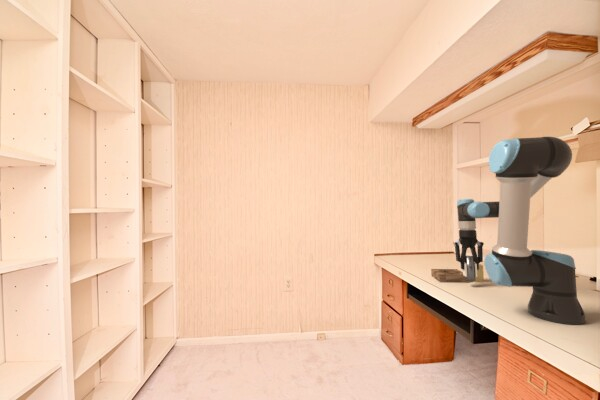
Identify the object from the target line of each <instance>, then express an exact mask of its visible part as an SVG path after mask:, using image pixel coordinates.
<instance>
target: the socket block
mask: <svg viewBox="0 0 600 400" xmlns="http://www.w3.org/2000/svg"><path fill="white" fill-rule="evenodd" d="M430 272H431V277H433V279H435V280H436V281H438V282H439V283H469V281H467V280H466V277H465V276H463V271H461V270H459V269H457V268H456V269H455V268H431V271H430Z"/></svg>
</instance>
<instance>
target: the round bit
mask: <svg viewBox="0 0 600 400" xmlns="http://www.w3.org/2000/svg"><path fill="white" fill-rule="evenodd" d="M465 263H466V264H467V277H466V280H467V281H468V282H474V281H475V268H474V263H475V262H474V256H472V255H466V257H465Z"/></svg>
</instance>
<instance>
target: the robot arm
mask: <svg viewBox="0 0 600 400" xmlns="http://www.w3.org/2000/svg"><path fill="white" fill-rule="evenodd" d="M572 159H573V153H572V149H571V146H570V145H569V144H568V143H567V142H566V141H565V140H563V139H561V138H559V137H555V136H541V137H540V136H538V137H523V138H522V137H520V138H519V137H518V138H509V139H504V140H501V141H498V142H497V143H496V144H495V145H494V146H493V148H492V149H491V151H490V153H489V157H488V166H489V171H491V172H492V173H493V174H495V178H496V179H497V180H498V181H499V184H500V185H499V201H475V200H474V199H473V198H468V199H467V198H465V199H458V200H457V205H456V209H457V218H458V219H457V220H458V221H457V222H458V223H457V224H458V229H459V230H458V234H459V235H458V236H459V239H458V240H457V241H453V246H454V252H455V261H457V262H458V263H460V269H461V270H462V272H463V276H465V277H467V264H466V263H465V257H466V256H467V251H468V249H469V250H470V252H471V256H474V268H475V277H477V270H479V264H481V263H483V261H484V269H485V270H486V274H487V276H488V277H489V280H490V281H492V283H494V284H495V285H496V286H501V287H508V288H511V287H528V288H529V287H532V294H531V295H530V299H529V301H528V304H527V311H528V313H529V314H530V315H532V316H534V317H536V318H539V319H542V320H546V321H549V322H553V323H558V324H565V325H584V324H585V323H587V320H586V319H587V318H586V317H587V316H586V313H585V311H584V309H583V307H582V306H581V303H580V301H579V299H578V295H577V294H578V292H577V291H578V290H577V275H576V269H577V268H576V264H575V259H574V257H573V256H572V255H569V254H565V253H561V252H555V251H554V252H553V251H548V250H546V251H545V250H539V249H529V248H528V236H529V225H530V224H529V220H530V208H531V207H530V204H531V199H532V197H533V196H534V195H536V194H537V193H538V192H539V191H540V190H541V189H542V188H543V187H544V186H545V185H546V184H547V183H549V181H550V180H552V179H554V178H557V177H558V178H559V176H561V175H562V174H563V173H564V172H565V171H566V170H567V169H568V167H569V166H570V164H571V162H572ZM485 218H486V219H491V218H493V219H495V218H496V219H497V218H498V222H497V223H498V226H497V229H498V230H497V243H496V245H493V246H492V249H491V253H488V254H486V255H485V256H484V255H483V254H484V253H483V251H484V250H483V249H484V248H483V247H484V244H485V243H484V242H483V241H479V240H478V239H477V237H478V236H477V230H476V229H477V223H476V222H477V221H476V219H485ZM460 246H461V250H460ZM476 246H477V247H476ZM476 248H477V250H476ZM483 257H484V259H483Z"/></svg>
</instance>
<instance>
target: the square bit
mask: <svg viewBox="0 0 600 400" xmlns="http://www.w3.org/2000/svg"><path fill="white" fill-rule="evenodd" d="M484 280H485V279H484V265H483V264H481V263H479V270H477V277H475V281H473V282H474V283H485V281H484Z"/></svg>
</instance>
